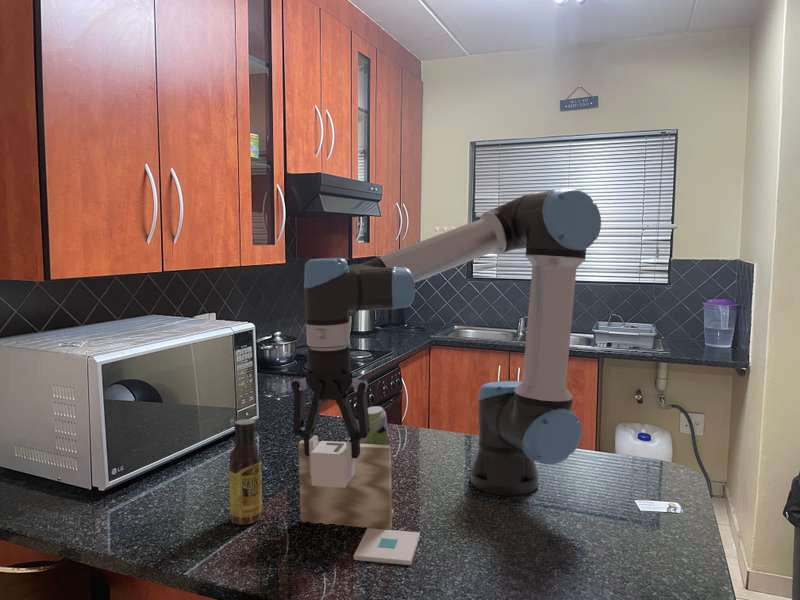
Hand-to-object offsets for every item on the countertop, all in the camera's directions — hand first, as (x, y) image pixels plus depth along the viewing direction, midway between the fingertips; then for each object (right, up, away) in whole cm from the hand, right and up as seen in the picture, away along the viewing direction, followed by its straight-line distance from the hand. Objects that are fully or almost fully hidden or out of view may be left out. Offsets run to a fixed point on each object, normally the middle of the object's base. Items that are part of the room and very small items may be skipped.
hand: (333, 473), depth 107 cm
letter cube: (0, -1, 0) cm, 1 cm away
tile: (+10, -13, 0) cm, 17 cm away
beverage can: (+6, -9, +49) cm, 50 cm away
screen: (+2, -12, +12) cm, 17 cm away
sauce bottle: (-19, -13, +12) cm, 25 cm away
